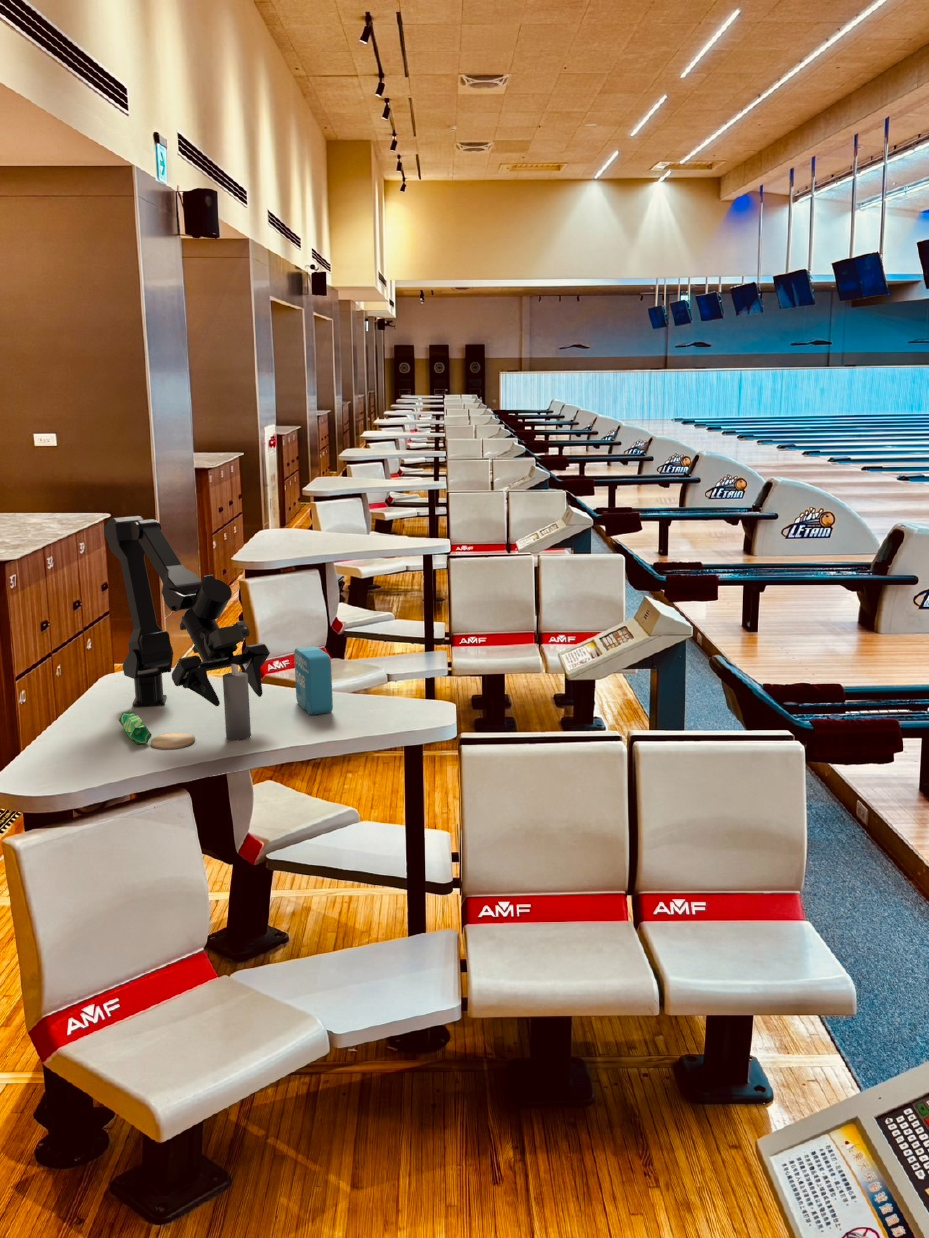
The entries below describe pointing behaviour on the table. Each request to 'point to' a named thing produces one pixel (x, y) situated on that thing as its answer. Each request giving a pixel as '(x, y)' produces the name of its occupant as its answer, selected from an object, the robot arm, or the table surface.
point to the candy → (135, 727)
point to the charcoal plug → (236, 704)
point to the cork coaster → (172, 740)
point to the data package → (313, 680)
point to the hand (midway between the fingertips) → (239, 700)
